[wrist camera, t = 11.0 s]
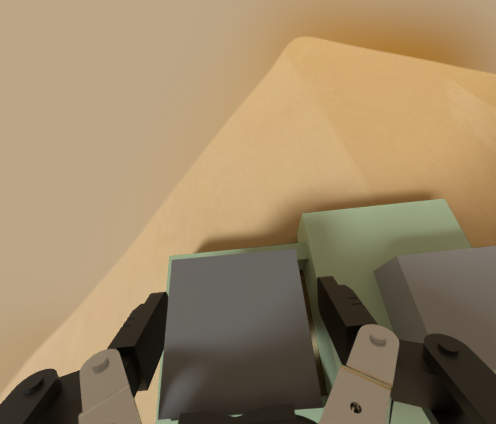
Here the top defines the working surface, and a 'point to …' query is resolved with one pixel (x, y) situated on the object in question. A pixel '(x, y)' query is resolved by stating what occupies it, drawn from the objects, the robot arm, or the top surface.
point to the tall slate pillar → (237, 336)
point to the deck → (367, 251)
